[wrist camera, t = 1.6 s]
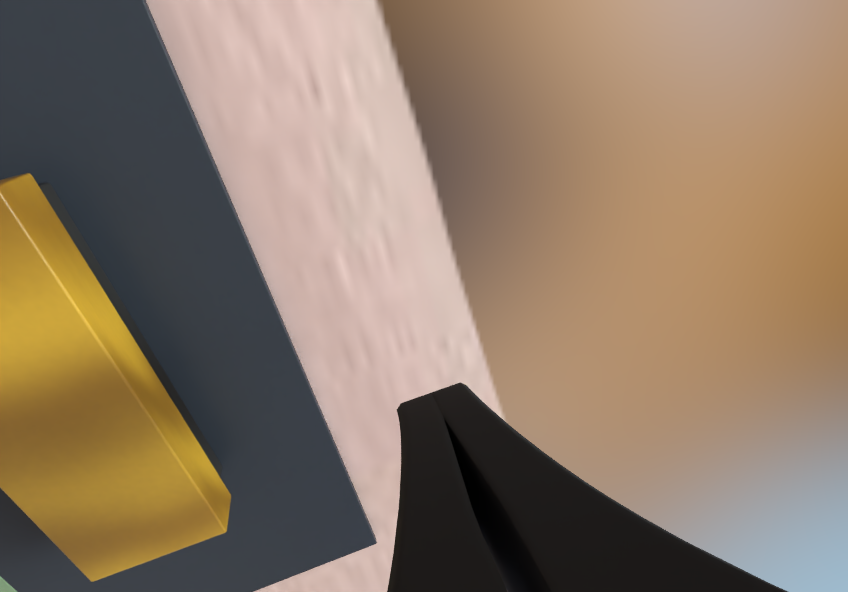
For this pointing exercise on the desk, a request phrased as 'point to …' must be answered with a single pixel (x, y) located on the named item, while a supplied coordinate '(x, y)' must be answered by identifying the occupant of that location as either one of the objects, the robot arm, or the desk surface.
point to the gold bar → (90, 404)
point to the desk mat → (170, 297)
